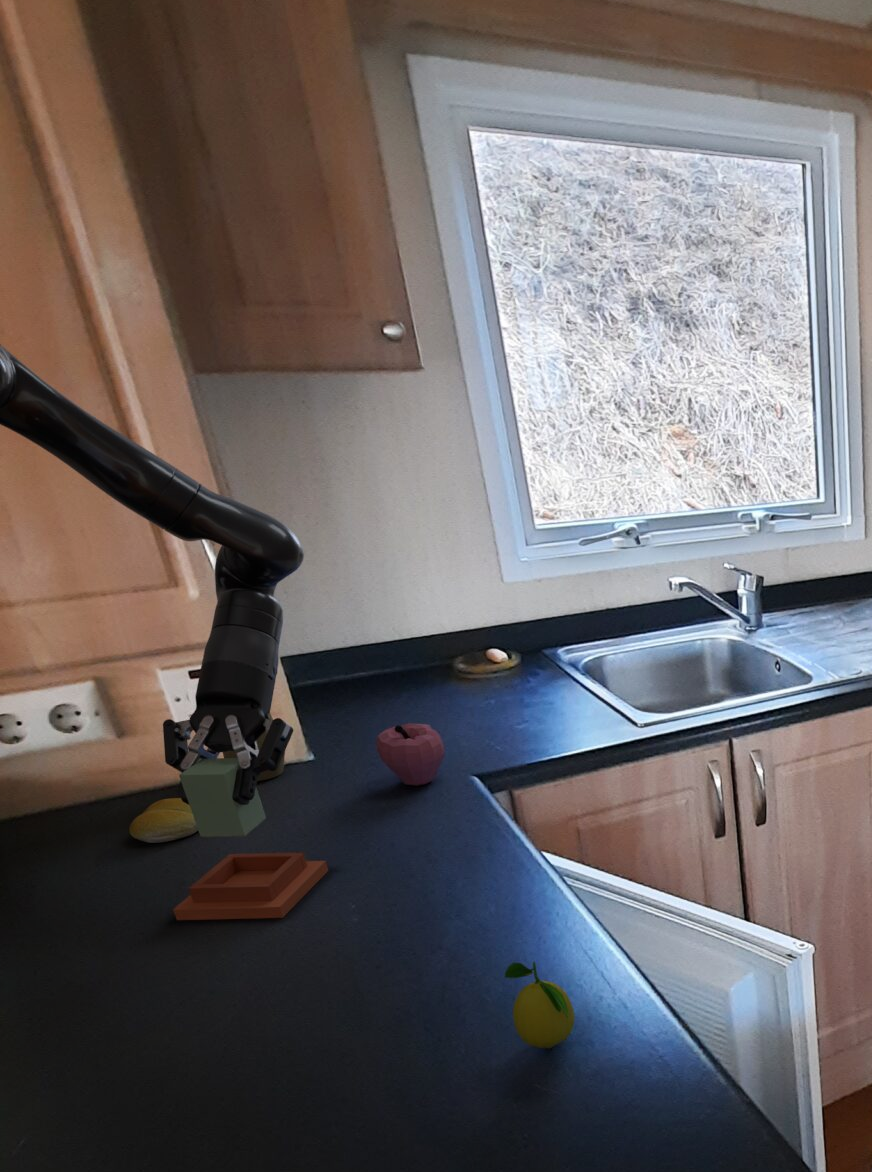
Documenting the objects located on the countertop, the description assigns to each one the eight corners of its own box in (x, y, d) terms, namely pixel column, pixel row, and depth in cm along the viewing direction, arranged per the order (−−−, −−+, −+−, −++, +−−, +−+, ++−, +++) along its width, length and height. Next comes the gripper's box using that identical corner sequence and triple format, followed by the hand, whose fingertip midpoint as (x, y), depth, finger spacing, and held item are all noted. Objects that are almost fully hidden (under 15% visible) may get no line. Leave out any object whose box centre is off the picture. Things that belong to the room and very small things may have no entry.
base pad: (282, 917, 125) (274, 892, 123) (176, 920, 124) (167, 894, 122) (328, 870, 136) (321, 846, 134) (231, 872, 135) (223, 848, 133)
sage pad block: (244, 836, 124) (224, 774, 120) (200, 837, 123) (178, 774, 120) (266, 818, 128) (247, 757, 125) (223, 819, 128) (203, 758, 124)
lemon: (516, 1032, 106) (498, 949, 101) (577, 1021, 108) (563, 939, 103) (515, 1073, 100) (497, 986, 96) (580, 1060, 102) (564, 975, 98)
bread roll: (122, 847, 141) (112, 820, 139) (156, 819, 148) (147, 793, 147) (190, 843, 142) (181, 816, 140) (220, 815, 150) (211, 790, 148)
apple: (457, 785, 161) (443, 723, 156) (396, 799, 156) (380, 736, 151) (438, 766, 167) (424, 706, 163) (379, 779, 162) (363, 718, 158)
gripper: (156, 658, 123) (127, 792, 118) (284, 657, 124) (261, 790, 119) (196, 687, 130) (171, 815, 125) (316, 685, 132) (296, 812, 126)
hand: (215, 802), depth 122 cm, fingers closed on sage pad block, 5 cm apart
